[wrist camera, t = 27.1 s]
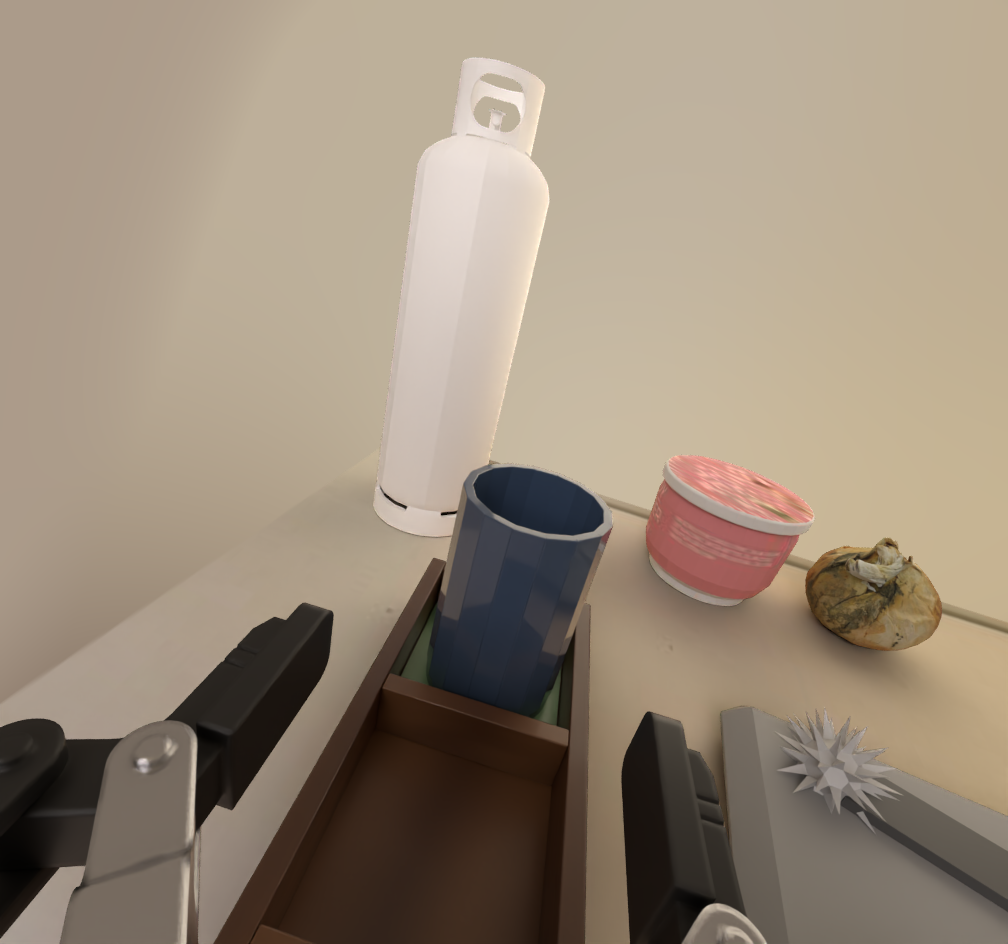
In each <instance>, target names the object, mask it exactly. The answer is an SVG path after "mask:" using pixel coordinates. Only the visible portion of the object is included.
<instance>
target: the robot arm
mask: <svg viewBox="0 0 1008 944" xmlns="http://www.w3.org/2000/svg"><path fill="white" fill-rule="evenodd" d="M333 616H334V615H333V612H332V611H330V610H327V609H324V608H320V607H317V606H314V605H311V604H308V603H302V604H301V605H299V606H298V607H297V608H296V610H295V611H294V612H293V613H292V614H291V615H290V616H289V618H288V619H287V620H283V619H280V618H277V617H273V618H272V619H270V620H268V621H266V622H264V623H262V624H261V625H259V626H257V627H255V628H253V629H252V630H251V631H250V633H249V634H248V635H247V636H246V637H245V638H244V639H243V640H242V641H241V642H240V643H239V644H238V646H237V648H234V649H233V650H232V651H231V652H230V653H229V654H228V656H227V657H226V658H225V660H224V661H223V662H221V663H220V664H219V665H218V666H217V667H216V668H215V669H214V670H213V671H212V672H211V673H210V674H209V675H208V676H207V677H206V679H205V680H204V681H203V682H202V683H201V684H200V685H199V686H198V687H197V688H196V689H195V690H194V691H193V692H192V693H191V694H190V695H189V696H188V697H187V698H186V699H185V700H184V702H183V703H182V704H181V705H180V706H179V707H178V708H177V709H176V710H175V711H174V712H173V713H172V714H171V715H170V716H169V717H168V718H166V719H165V720H164V721H159V722H154V723H151V724H148V725H145V726H143V727H140V728H138V729H137V730H135V731H133V732H131V733H130V734H128V735H127V736H126V737H125V738H120V739H68V740H65V735H64V732H63V729H62V728H61V726H60V725H59V724H57V723H56V722H54V721H51V720H48V719H26V720H21V721H17V722H14V723H10V724H8V725H5V726H3V727H0V938H1V937H2V936H3V935H4V934H5V932H6V931H7V930H8V929H9V928H10V926H11V925H12V924H13V923H14V922H15V920H16V919H17V918H18V917H19V916H20V914H21V913H22V912H23V911H24V910H25V908H26V907H27V906H28V905H29V904H30V902H31V901H32V900H33V899H34V898H35V896H36V895H37V894H38V893H39V892H40V890H41V889H42V888H43V887H44V886H45V884H46V883H47V882H48V881H49V880H50V878H51V877H52V876H53V875H54V874H55V872H56V871H57V870H58V869H59V868H60V867H69V866H85V865H86V866H85V871H84V876H83V879H82V882H81V884H80V886H79V887H76V888H75V889H74V891H73V893H72V895H71V898H70V901H69V904H68V908H67V912H66V916H65V921H64V926H63V930H62V935H61V940H60V944H198V918H199V885H200V852H201V825H202V824H203V822H204V821H205V820H206V818H207V817H208V815H209V814H210V813H211V811H212V810H213V808H214V807H215V805H218V806H221V807H224V808H227V809H230V810H233V808H234V807H235V805H236V804H237V802H238V801H239V799H240V798H241V796H242V795H243V793H244V792H245V790H246V789H247V787H248V786H249V784H250V783H251V781H252V780H253V779H254V777H255V776H256V774H257V773H258V771H259V770H260V768H261V767H262V765H263V764H264V762H265V761H266V759H267V758H268V756H269V755H270V753H271V752H272V750H273V749H274V747H275V746H276V744H277V743H278V741H279V740H280V738H281V737H282V735H283V734H284V732H285V731H286V729H287V728H288V727H289V725H290V724H291V722H292V721H293V719H294V718H295V716H296V715H297V713H298V712H299V710H300V709H301V707H302V706H303V704H304V703H305V701H306V700H307V698H308V697H309V695H310V694H311V692H312V691H313V689H314V688H315V686H316V685H317V683H318V682H319V680H320V679H321V677H322V675H323V673H324V671H325V668H326V666H327V663H328V659H329V654H330V645H331V636H332V626H333ZM622 799H623V818H624V837H625V856H626V875H627V894H628V913H629V932H630V944H767V942H766V941H765V939H764V937H763V936H762V935H761V933H760V932H759V930H758V929H757V928H756V927H755V926H754V925H753V923H752V922H751V921H750V920H749V919H748V917H747V914H746V911H745V908H744V904H743V899H742V895H741V891H740V887H739V882H738V878H737V874H736V870H735V866H734V861H733V857H732V853H731V849H730V844H729V840H728V836H727V832H726V827H724V819H723V815H722V810H721V806H719V798H718V793H717V789H716V785H715V781H714V776H713V775H712V773H711V771H710V769H709V768H708V766H707V764H706V762H705V761H704V759H703V757H702V756H701V754H700V752H697V751H694V750H691V749H688V748H687V745H686V740H685V735H684V729H683V726H682V723H681V722H680V721H678V720H675V719H672V718H669V717H665V716H662V715H659V714H656V713H653V712H647V713H646V714H645V715H644V717H643V719H642V721H641V723H640V725H639V727H638V729H637V731H636V733H635V735H634V737H633V739H632V741H631V743H630V745H629V747H628V749H627V751H626V754H625V757H624V761H623V766H622Z"/></svg>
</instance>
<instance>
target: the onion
mask: <svg viewBox="0 0 1008 944" xmlns="http://www.w3.org/2000/svg"><path fill="white" fill-rule="evenodd" d="M805 587H806V596H807V599H808V603H809V605H810V608H811V610H812V612H813V613H814V614H815V615H816V617H817V618H818V619H819V621H820V622H821V623H822V624H823V625H824V626H826V627H827V628H828V629H830V630H831V631H833V632H834V633H836V634H837V635H838V636H841V637H843V638H845V639H846V640H848V641H850V642H851V643H853V644H855V645H858V646H863V647H867V648H871V649H876V650H884V651H890V650H902V649H907V648H909V647H912V646H915V645H918V644H920V643H922V642H923V641H925V640H927V639H928V638H929V637H931V636H932V634H933V633H934V631H935V630H936V629H937V627H938V625H939V622H940V619H941V615H942V604H941V601H940V598H939V595H938V593H937V591H936V590H935V588H934V586H933V585H932V583H931V581H930V580H929V578H928V577H927V576H926V574H925V573H924V572H923V571H922V570H921V568H920V567H919V566H918V565H917V564H915V563H914V562H913V557H912V556H909V559H908V560H907V559H906V558H905V557H903V556H902V554H901V553H900V552H899V551H898V544H897V542H896V541H893V540H892V539H890V538H883V539H882V540H881V541H880V542H879V543H878V544H876V546H875V547H874V548H859V547H858V548H857V547H856V548H855V547H850V546H844V547H840V548H837V549H834V550H831V551H829V552H826V553H825V554H824V555H822V556H821V557H820V558H819V560H818V561H817V562H816V563H815V564H814V566H813V567H812V568H811V569H810V570H809V571H808V573H807V577H806V585H805Z"/></svg>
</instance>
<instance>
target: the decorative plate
mask: <svg viewBox="0 0 1008 944" xmlns="http://www.w3.org/2000/svg"><path fill="white" fill-rule="evenodd" d="M793 714H794V713H793ZM806 714H807V712H806ZM794 716H795V717H796V719H797V721H798V723H799V725H800V727H801V728H800V727H799V726H798V725H797V724H796V723H794V722H793V721H792V720H791V719H790V718H789V717H788V716H787V717H788V719H789V720H790V722H791V723H792V724H791V723H789V722H786V721H784V720H782V719H779V718H777V717H775V716H772V715H770V714H768V713H765V712H763V711H761V710H758V709H756V708H754V707H749V706H739V707H735V708H732V709H728V710H725V711H722V712H721V713H720V722H721V735H722V749H723V762H724V775H725V788H726V802H727V815H728V828H729V841H730V849H731V853H732V857H733V861H734V866H735V870H736V874H737V878H738V882H739V887H740V891H741V895H742V899H743V904H744V908H745V911H746V914H747V917H748V919H749V920H750V921H751V922H752V923H753V925H754V926H755V927H756V928H757V929H758V930H759V932H760V933H761V935H762V936H763V937H764V939H765V941H766V942H767V944H1008V816H1006V815H1004V814H1001V813H999V812H997V811H994V810H992V809H990V808H987V807H985V806H983V805H980V804H978V803H976V802H973V801H971V800H969V799H966V798H964V797H962V796H959V795H957V794H955V793H952V792H950V791H948V790H945V789H943V788H941V787H938V786H936V785H934V784H931V783H929V782H927V781H924V780H922V779H920V778H917V777H915V776H913V775H910V774H908V773H906V772H903V771H901V770H899V769H898V768H894V767H892V766H889V765H887V764H885V763H882V762H880V761H878V760H875V759H873V758H874V757H876V756H878V755H879V754H881V753H883V752H885V751H884V750H886V749H887V748H882V749H875V750H868V751H863V750H864V749H865V747H866V746H865V747H862V748H859V749H857V747H858V745H859V743H860V741H861V739H862V737H863V735H864V733H865V731H866V729H867V727H868V726H867V727H866V728H865V729H863V730H862V731H861V732H860V731H859V732H860V733H859V732H858V733H857V734H856V735H855V736H854V733H855V731H856V728H857V727H856V728H855V729H854V730H853V731H852V732H850V733H849V734H848V735H847V733H848V727H849V722H850V717H849V719H848V720H847V722H846V723H845V724H844V726H843V727H842V729H841V730H840V732H839V733H838V735H837V736H836V734H835V730H834V726H833V722H832V718H831V721H830V723H829V720H828V716H827V713H826V710H825V709H824V728H823V726H822V724H821V721H820V718H819V715H818V713H817V710H816V726H817V728H816V726H815V725H814V723H813V722H812V720H811V719H810V717H809V715H808V714H807V718H808V722H809V726H810V730H811V731H810V730H809V729H808V728H807V727H806V726H805V725H804V724H803V723H802V722H801V721H800V720H799V719H798V717H797V716H796V715H795V714H794ZM853 736H854V737H853Z"/></svg>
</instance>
